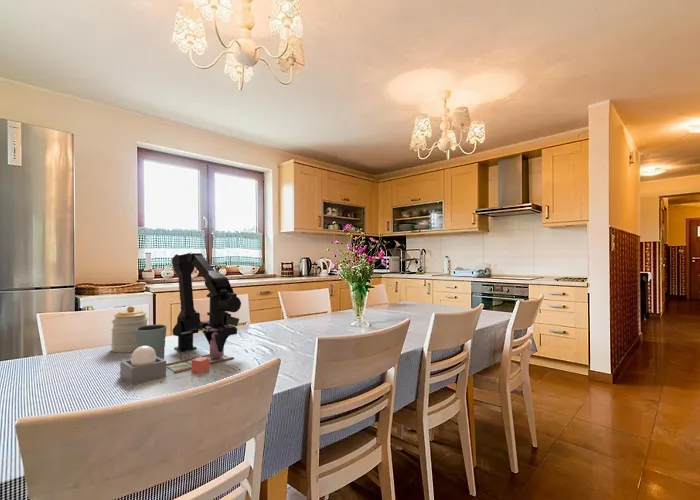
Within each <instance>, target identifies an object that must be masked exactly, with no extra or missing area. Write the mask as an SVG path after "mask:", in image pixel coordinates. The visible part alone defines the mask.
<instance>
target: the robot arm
mask: <svg viewBox="0 0 700 500" xmlns="http://www.w3.org/2000/svg"><path fill="white" fill-rule="evenodd" d="M171 264H172V268H173V269H172V270H173V271H174V273H175V274H176V275H177V277H178V288H179V289H178V290H179V299H180V300H179V301H180V312H179V314H178V316H177V319H176V324H175V326H174V327H173V328H172V335H173V336H175V337H177V346H175V347H174V350H176V351H178V352H181V353H182V352H187V351H191V350H195V349H197V347H196V346H194V334H199V331H202V334H203V335H204V337H205V338H206V340H207V343H208V344H209V346H210V340H212V337H211V336H212V334H213V332H215V331H217V333H218V334H217V335H214V336H215V340H216V344H217V347H218V351H219V352H222V350H223V347H224V348H225V345H226V342H227V339H228V338H229V337H230V336H233V335H238V328H237V327H238V325H239V321H240V318H237V317H234V316H232V314H231V313H237V312H238V311H239V310H240V309H241V306H242V302H241V299H240V298H239V297H238V296H237V293H235V292H234V289H233V288H232V286H231V283H230V281H229V279H228V277H227V276H226V275H224V274H223V273H220V272H218V271H216V270H215V269H214V268H213V267H212V265H211V264H210V263H209V262H208V260H207V259H206V258H205V257H204V255H203V253H202V252H197V251H193V252H192V251H191V252H188V253H185V254H182V253H181V254H179V253H178V254H175V255H174V256H173V257H172V259H171ZM195 269H196V270H197V271H198V273H199V274H200V275H201V277H203V279H204V286H205V287H206V289H207V290H208V292H209V293H208V294H207V295H206V297H207V298H209V312H207V313H206V315H207V316H209V317H208V320H205V321H203V320H202V321H201V314H200V312H197V310H196V309H195V306H194V304H195V303H194V292H193V281H192V280H193V279H192V274H193V271H194V270H195ZM229 312H230V313H229Z"/></svg>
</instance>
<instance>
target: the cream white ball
mask: <svg viewBox="0 0 700 500" xmlns="http://www.w3.org/2000/svg"><path fill="white" fill-rule="evenodd" d="M130 359H131V365H132V366H134V367H136V366H141V365H145V364H150V363H155V362H156V353H155V350H154V349H153V348H152V347H150V346H141V347H138V348H137V349H136V350H135V351H134V352H132V354H131V358H130Z"/></svg>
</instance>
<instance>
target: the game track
mask: <svg viewBox="0 0 700 500" xmlns="http://www.w3.org/2000/svg"><path fill="white" fill-rule="evenodd" d="M199 357H206V358H211V357H210V353H208V354H204V355H199V356H194V357H190V358H185V359H180V360H176V361H173V362H171V361H170V362H168V363H167V362H166V369H168V370H171V371H172V372H173V373H174V374H179V373H182V372H187V371H190V370H191V368H192V359H195V358H199ZM223 357H225V358H221V359H217V360H212V359H210V366H211V365H214V364H217V363H222V362H227V361H231V360H234V359H235V357H234V356H228V355H226V354H224V356H223Z"/></svg>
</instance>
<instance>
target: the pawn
mask: <svg viewBox="0 0 700 500" xmlns="http://www.w3.org/2000/svg"><path fill="white" fill-rule="evenodd" d="M217 334H218V333H217V331H215V332H213V334H212V336H211V337H212V340H210V345H209V354H210V357H209V358H210V359H211V358H213V359H217V358H222V357H224V355H225V352H224V351H225V346H224V347H223V350H222V352H219V351H218V347H217V344H216V340H215V336H214V335H217Z"/></svg>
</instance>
